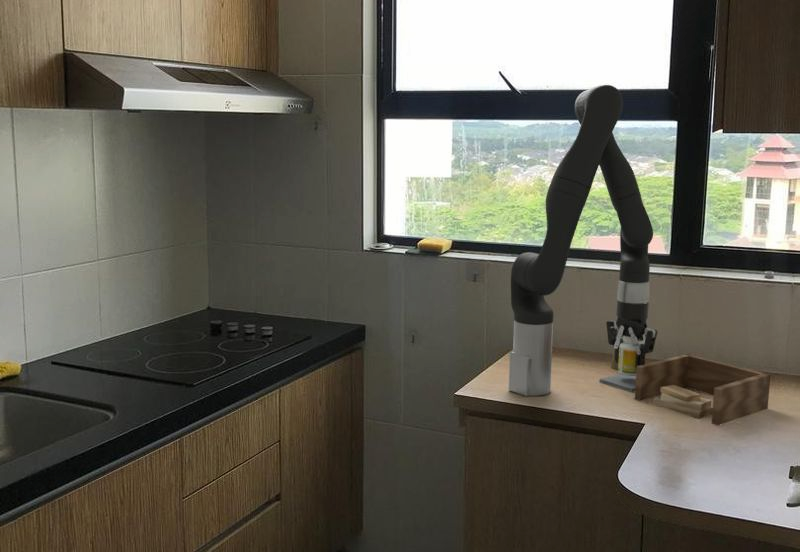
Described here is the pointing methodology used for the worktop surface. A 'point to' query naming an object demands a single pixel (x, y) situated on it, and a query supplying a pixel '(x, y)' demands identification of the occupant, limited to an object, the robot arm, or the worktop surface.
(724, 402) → the walnut open frame
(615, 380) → the slate mat
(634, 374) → the supplement bottle
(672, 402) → the offcut stack
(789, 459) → the worktop surface
